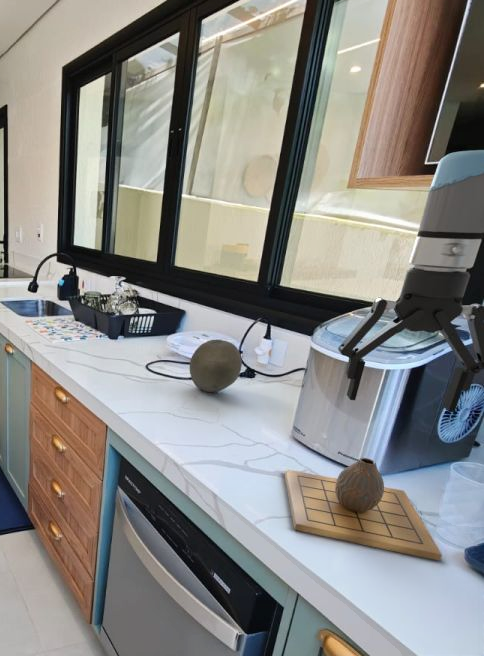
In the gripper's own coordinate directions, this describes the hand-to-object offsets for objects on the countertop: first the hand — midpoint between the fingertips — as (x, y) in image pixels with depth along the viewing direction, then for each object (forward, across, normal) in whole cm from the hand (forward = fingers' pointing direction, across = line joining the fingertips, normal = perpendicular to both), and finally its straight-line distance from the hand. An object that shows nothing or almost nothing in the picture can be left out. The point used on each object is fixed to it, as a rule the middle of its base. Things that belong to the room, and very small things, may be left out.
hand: (398, 403), depth 82 cm
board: (+20, -3, -2) cm, 20 cm away
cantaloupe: (+20, -28, +53) cm, 63 cm away
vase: (+19, -3, -2) cm, 19 cm away
